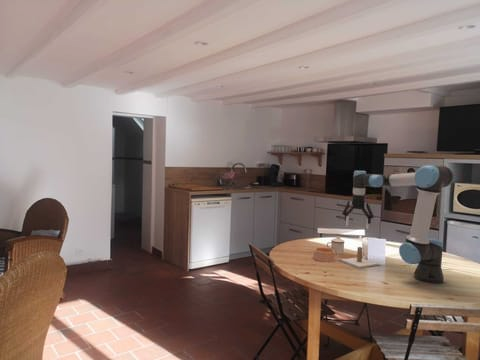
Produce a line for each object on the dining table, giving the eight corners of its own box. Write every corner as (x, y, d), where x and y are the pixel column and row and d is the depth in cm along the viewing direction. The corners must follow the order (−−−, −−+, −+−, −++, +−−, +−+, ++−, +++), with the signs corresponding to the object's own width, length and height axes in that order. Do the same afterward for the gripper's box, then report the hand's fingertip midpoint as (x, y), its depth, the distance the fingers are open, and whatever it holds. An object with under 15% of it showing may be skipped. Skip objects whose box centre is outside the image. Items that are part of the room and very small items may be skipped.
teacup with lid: (343, 252, 261) (344, 236, 260) (344, 255, 252) (345, 238, 252) (326, 250, 264) (327, 234, 263) (326, 253, 255) (327, 237, 254)
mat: (381, 266, 228) (381, 265, 228) (359, 269, 219) (359, 268, 219) (359, 258, 245) (359, 257, 245) (337, 261, 236) (337, 260, 236)
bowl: (338, 261, 235) (339, 251, 235) (322, 263, 229) (323, 253, 229) (325, 256, 247) (325, 247, 247) (309, 258, 241) (310, 248, 241)
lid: (378, 265, 229) (379, 249, 228) (359, 267, 221) (360, 251, 221) (359, 258, 243) (360, 243, 242) (340, 260, 236) (341, 245, 235)
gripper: (380, 196, 229) (378, 229, 230) (343, 192, 246) (341, 224, 246) (376, 196, 224) (374, 230, 224) (338, 193, 240) (336, 225, 241)
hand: (357, 227), depth 235 cm, fingers open, 13 cm apart
